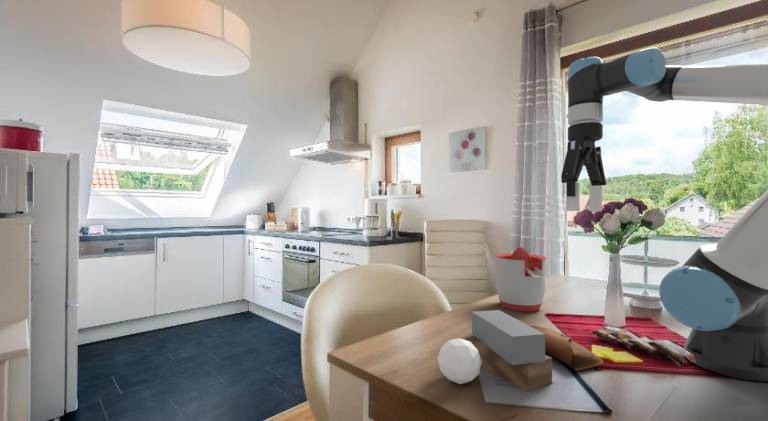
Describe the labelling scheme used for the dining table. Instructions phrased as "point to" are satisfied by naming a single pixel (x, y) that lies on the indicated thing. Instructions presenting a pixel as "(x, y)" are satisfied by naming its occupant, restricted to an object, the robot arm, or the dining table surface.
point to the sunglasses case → (568, 350)
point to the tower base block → (514, 368)
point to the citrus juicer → (520, 280)
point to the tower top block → (509, 337)
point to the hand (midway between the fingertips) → (584, 211)
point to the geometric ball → (459, 361)
